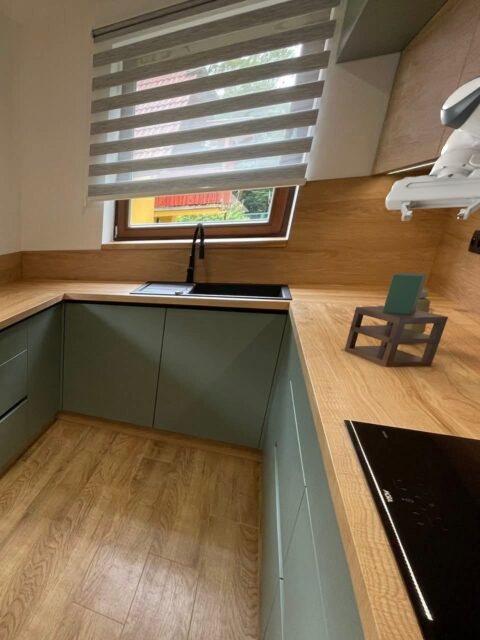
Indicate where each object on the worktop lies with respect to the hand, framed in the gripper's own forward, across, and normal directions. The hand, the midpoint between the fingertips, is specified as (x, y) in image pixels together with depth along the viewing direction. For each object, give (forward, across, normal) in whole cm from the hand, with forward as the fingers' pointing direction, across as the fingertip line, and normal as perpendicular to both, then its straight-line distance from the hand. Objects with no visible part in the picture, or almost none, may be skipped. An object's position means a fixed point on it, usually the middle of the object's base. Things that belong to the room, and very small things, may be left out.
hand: (432, 218), depth 101 cm
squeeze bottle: (+13, -1, +35) cm, 37 cm away
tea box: (+19, 0, +11) cm, 22 cm away
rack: (+27, 0, +20) cm, 34 cm away
